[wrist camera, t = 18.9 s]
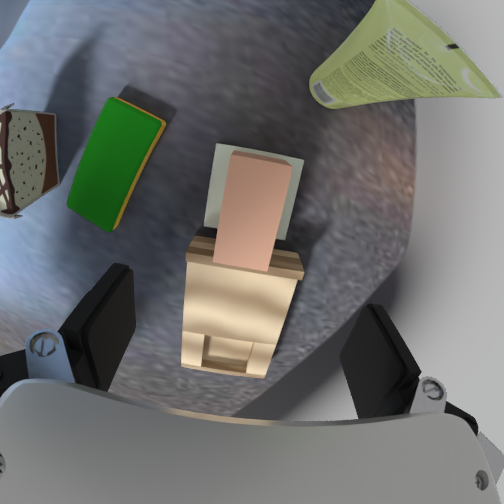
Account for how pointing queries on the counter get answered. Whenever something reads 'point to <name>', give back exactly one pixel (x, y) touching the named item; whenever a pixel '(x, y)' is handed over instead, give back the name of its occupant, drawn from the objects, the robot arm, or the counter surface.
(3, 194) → the food container
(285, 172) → the block
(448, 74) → the tube
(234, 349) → the open box
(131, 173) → the dish sponge
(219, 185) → the mat
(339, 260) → the counter surface
